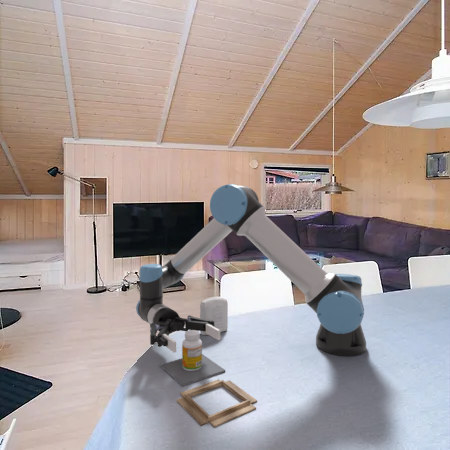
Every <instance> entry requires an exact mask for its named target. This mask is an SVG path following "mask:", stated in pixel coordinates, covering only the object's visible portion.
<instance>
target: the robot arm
mask: <svg viewBox="0 0 450 450" xmlns="http://www.w3.org/2000/svg"><path fill="white" fill-rule="evenodd" d="M209 210H210V213H211V215H212V217H213V218H212V220H210V221H209V222H208V223H206V225H205V226H204V227H203V228H202V229H201V230H200V231H199V232H197V233H196V235H194V237H192V238H191V239H190V241H188V242H187V243H185V245H184V246H183V247H182V248H180V250H179V251H178V252H177V253H176V254H174V255H173V256H172V257H171V259H169V260H168V262H166V263H165V264H164V265H163V266H162V265H161V264H160V263H148V264H147V263H146V264H142V265H141V266H140V268H139V277H138V278H139V279H138V280H139V300H138V301H137V303H136V307H135V311H136V314H137V315H138V317H140V319H141V320H142V321H145V322H146V323H148V324H149V331H150V336H149V337H150V338H149V340H150V345H151V346H154V345H155V344H157V347H158V348H159V347H160V348H162V347H166V348H167V349H168V350H169V351H171V352H172V353H177V341H176V340H175V339H173V338H172V337H171V336H169V335H170V334H172V333H174V332H186V331H189V330H197V331H199V332H200V331H206V333H207V334H208V336H210V337H212V338H214V339H215V340H217V341H220V340H221V332H220V330H219V329H217V328H216V327H214V321H213V320H207V319H202V318H200V317H197V316H192V315H187V317H186V318H183V317H180V314H179V313H178V312H177V311H176V310H173V309H172V308H171V307H169V306H167V305H165V304H163V301H164V300H163V297H164V295H163V293H164V292H163V291H164V289H165V288H168V287H170V286H172V285H175V284H178V283H179V282H180V281H181V280H182V279H184V277H185V275H186V273H187V272H189V271H190V270H191V269H192V268H193V267H194V266H195V265H196V264H198V263H199V262H200V261H201V260H202V259H203V258H204V257H205V256H206V255H207V254H208V253H210V252H211V251H212V250H213V249H214V248H215V247H216V246H217V245H219V244H220V242H221V241H222V240H224V239H225V238H226V237H228V235H229V234H230V233H232V232H234V233H235V235H236V236H239V237H241V236H242V237H243V236H244V237H246V238H247V240H249V241H250V242H251V243H252V244H253V245H254V246H255V247H256V248H257V249H258V250H259V251H260V252H261V253H262V254H263V255H264V256H265V257H266V258H267V259H268V260H269V261H270V262H271V263H272V264H273V265H274V266H276V268H277V269H278V270H279V271H281V272H282V274H283V275H285V277H287V278H288V279H289V281H290V282H292V283H293V284H294V285H295V286H296V287H297V289H299V290H300V291H301V292H302V293H303V294H304V300H305V303H306V305H308V306H309V307H310V309H311V310H313V312H314V313H315V314H316V317H317V319H318V322H319V323H320V325H319V326H318V330H317V332H316V336H315V337H316V338H315V345H316V346H317V348H319V349H320V350H322V351H324V352H326V353H329V354H332V355H337V356H344V357H352V356H359V355H362V354H365V352H366V351H367V340H366V338H365V337H366V336H365V333H364V330H363V327H362V321H363V319H364V315H365V308H364V304H363V298H362V287H363V282H362V277H361V276H359V275H357V274H351V273H350V274H349V273H348V274H347V273H335V272H326V271H325V270H324V269H323V268H322V267H321V266H320V265H318V263H317V262H315V260H313V259H312V258H311V257H310V256H309V255H308V254H307V253H306V252H305V251H304V250H303V249H302V248H301V247H300V246H299V245H298V244H297V243H296V242H295V241H293V239H292V238H290V237H289V236H288V235H287V234H286V233H285V232H284V231H283V230H281V228H280V227H279V226H277V224H275V222H273V221H272V220H271V219H270V218H269V217H268V216H267V215H266V207H265V206H264V205H263V204H262V203H261V202H260V200H259V197H258V194H257V193H256V191H255V190H253V189H252V188H250V187H249V186H246V185H240V184H239V185H238V184H236V183H228V184H223V185H221V186H220V187H218V188H216V189H215V191H214V192H213V193H212V195H211V197H210V201H209Z"/></svg>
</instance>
